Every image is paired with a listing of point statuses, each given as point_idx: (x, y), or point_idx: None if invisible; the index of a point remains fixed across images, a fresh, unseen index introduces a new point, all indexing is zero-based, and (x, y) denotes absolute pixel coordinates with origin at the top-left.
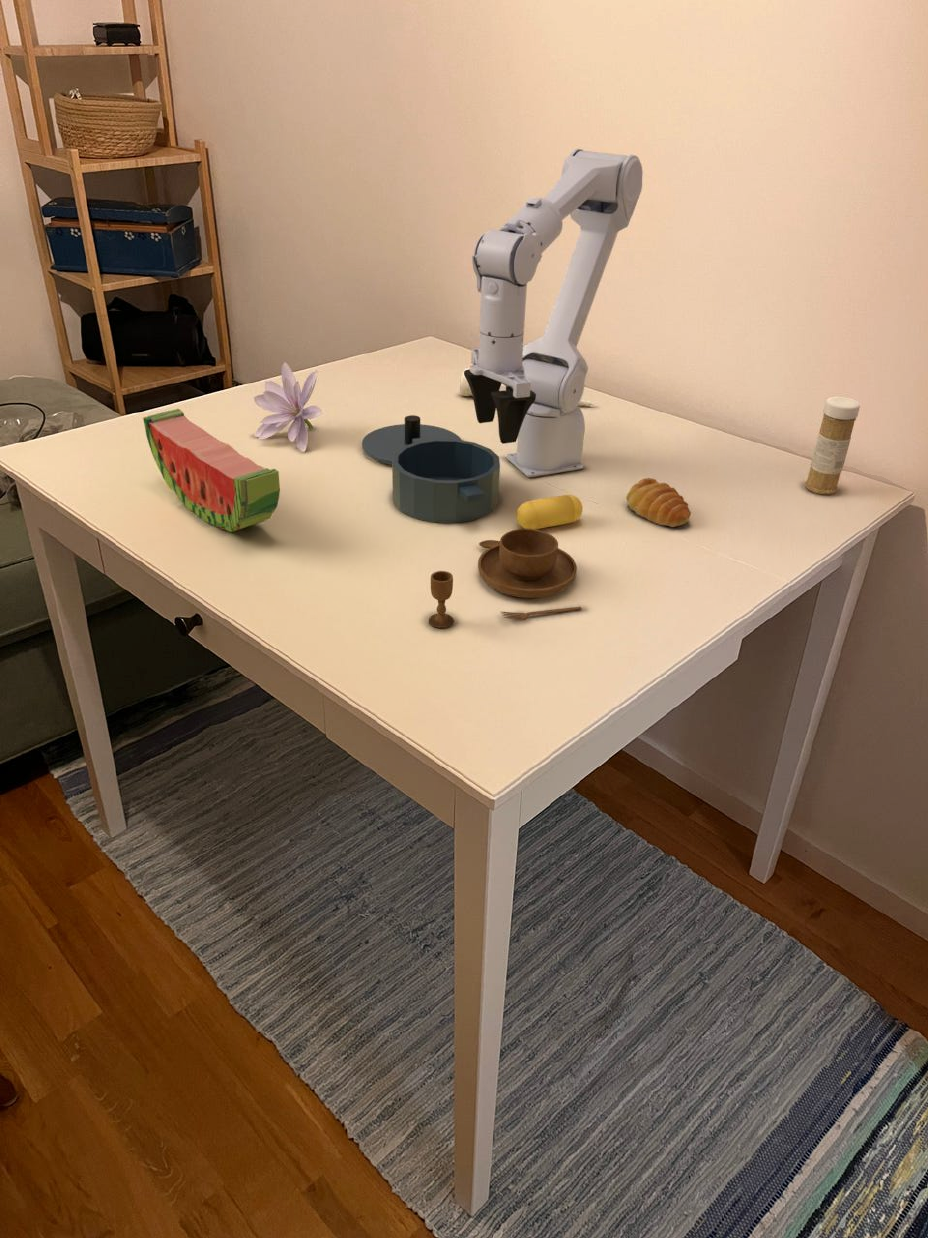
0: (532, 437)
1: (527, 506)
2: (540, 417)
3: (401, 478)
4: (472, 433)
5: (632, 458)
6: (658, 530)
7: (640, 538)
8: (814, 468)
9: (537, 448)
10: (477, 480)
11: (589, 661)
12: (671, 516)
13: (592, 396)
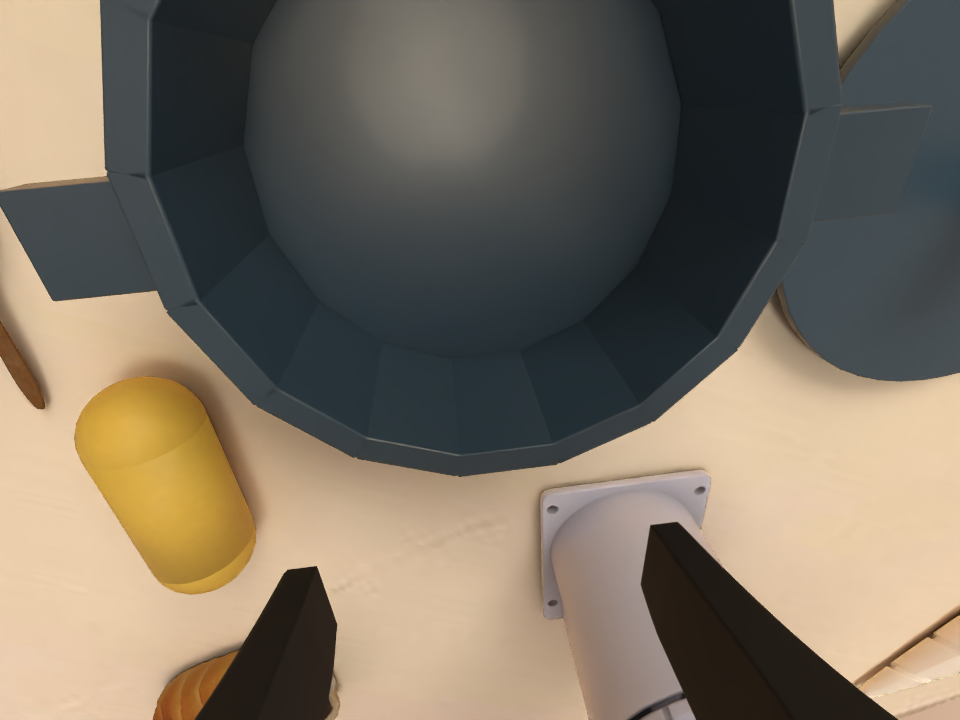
0: (616, 610)
1: (95, 444)
2: (630, 717)
3: None
4: (929, 425)
5: (561, 693)
6: (163, 659)
7: (113, 623)
8: None
9: (587, 586)
10: (167, 307)
11: None
12: (154, 714)
13: (898, 698)
